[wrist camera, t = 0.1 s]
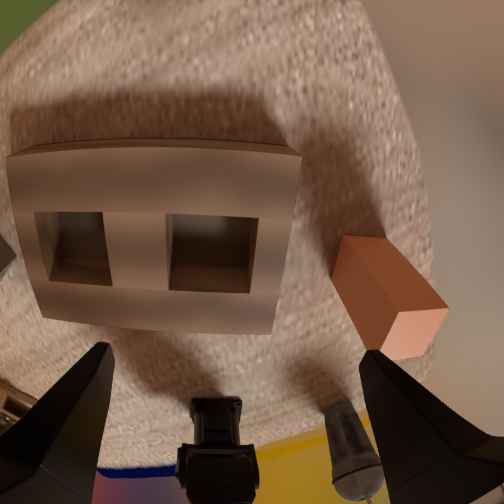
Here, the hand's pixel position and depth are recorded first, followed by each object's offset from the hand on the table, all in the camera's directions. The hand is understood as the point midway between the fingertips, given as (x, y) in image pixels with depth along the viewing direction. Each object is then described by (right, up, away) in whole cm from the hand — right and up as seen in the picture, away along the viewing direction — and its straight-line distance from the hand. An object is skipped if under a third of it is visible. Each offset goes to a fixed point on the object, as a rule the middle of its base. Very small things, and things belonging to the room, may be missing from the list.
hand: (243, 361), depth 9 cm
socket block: (-8, +5, +13) cm, 16 cm away
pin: (+10, +3, +16) cm, 19 cm away
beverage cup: (+13, -20, +30) cm, 38 cm away
